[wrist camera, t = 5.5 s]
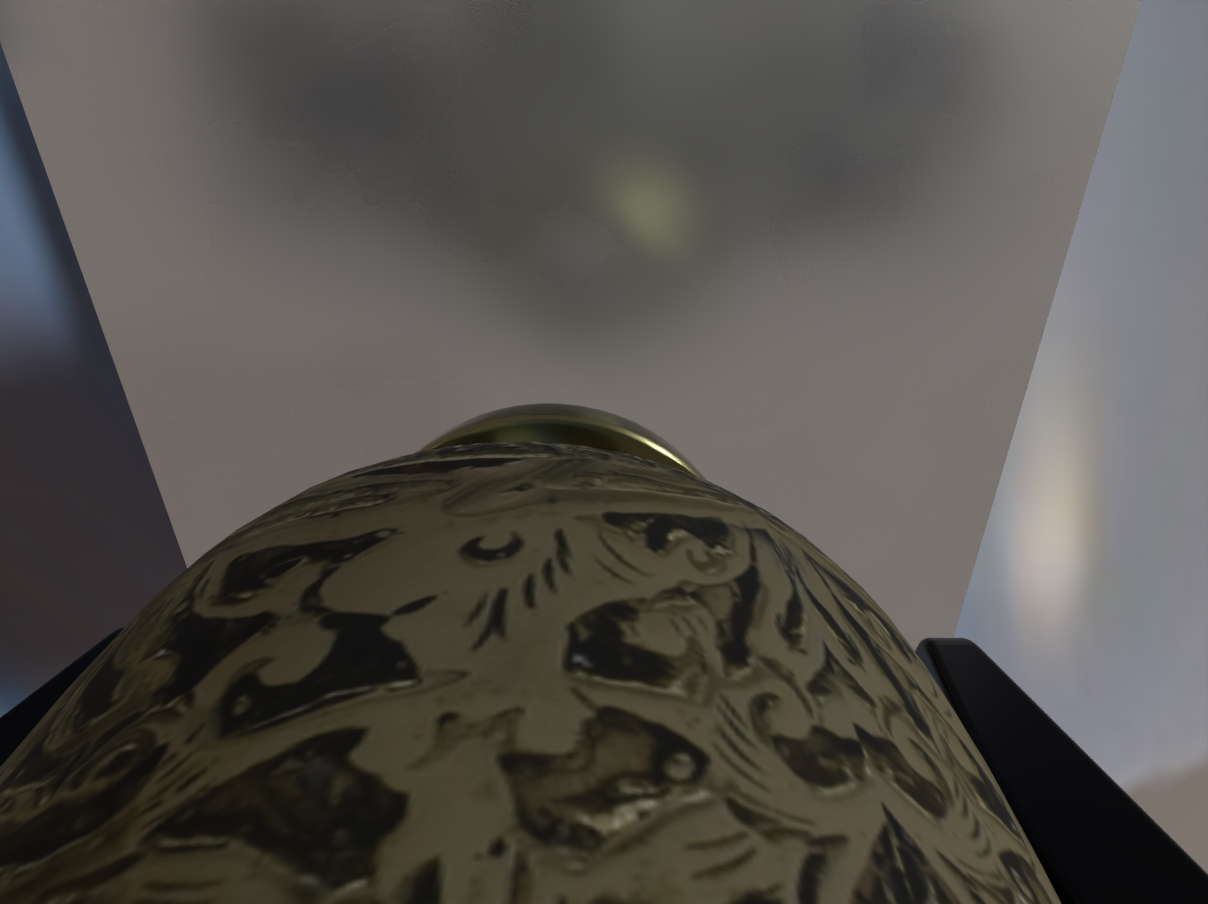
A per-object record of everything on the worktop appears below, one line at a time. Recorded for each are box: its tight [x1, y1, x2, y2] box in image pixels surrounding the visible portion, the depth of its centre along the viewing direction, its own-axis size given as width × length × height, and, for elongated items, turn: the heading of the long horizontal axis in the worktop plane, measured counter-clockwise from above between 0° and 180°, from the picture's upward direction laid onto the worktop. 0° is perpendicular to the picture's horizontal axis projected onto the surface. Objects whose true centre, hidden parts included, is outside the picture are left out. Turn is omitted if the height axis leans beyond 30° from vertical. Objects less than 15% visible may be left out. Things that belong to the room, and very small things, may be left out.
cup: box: [0, 403, 1061, 904], centre depth 7 cm, size 8×7×8 cm
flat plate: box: [0, 0, 1141, 648], centre depth 13 cm, size 12×10×2 cm
